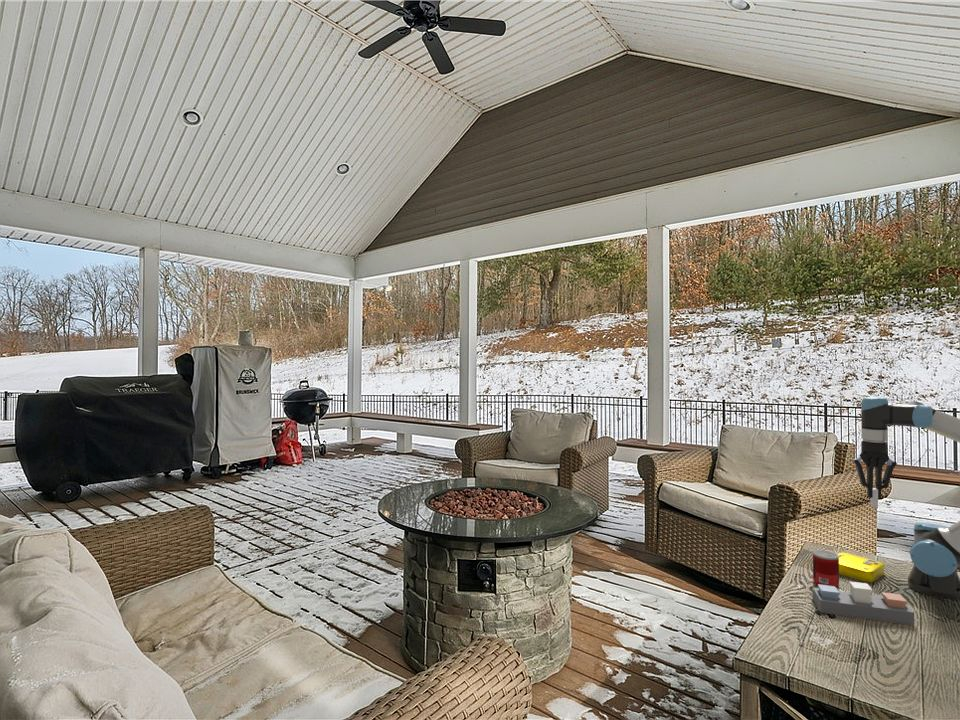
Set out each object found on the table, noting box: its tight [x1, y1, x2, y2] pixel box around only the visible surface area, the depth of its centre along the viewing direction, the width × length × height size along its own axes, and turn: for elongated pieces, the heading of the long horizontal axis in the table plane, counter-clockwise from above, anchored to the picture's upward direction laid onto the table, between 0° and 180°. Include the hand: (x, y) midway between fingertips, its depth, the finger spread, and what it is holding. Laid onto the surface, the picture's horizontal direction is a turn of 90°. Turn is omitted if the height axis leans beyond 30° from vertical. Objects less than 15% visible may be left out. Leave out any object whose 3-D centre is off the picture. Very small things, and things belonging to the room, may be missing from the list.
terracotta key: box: [881, 591, 908, 609], centre depth 169 cm, size 5×5×5 cm
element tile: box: [836, 551, 885, 583], centre depth 204 cm, size 15×15×5 cm
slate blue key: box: [817, 584, 840, 600], centre depth 175 cm, size 5×5×5 cm
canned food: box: [812, 550, 840, 589], centre depth 193 cm, size 8×8×11 cm
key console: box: [812, 587, 915, 626], centre depth 172 cm, size 25×10×4 cm, turn 70°
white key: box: [848, 580, 874, 604], centre depth 172 cm, size 5×5×5 cm
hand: (874, 506), depth 188 cm, fingers closed
